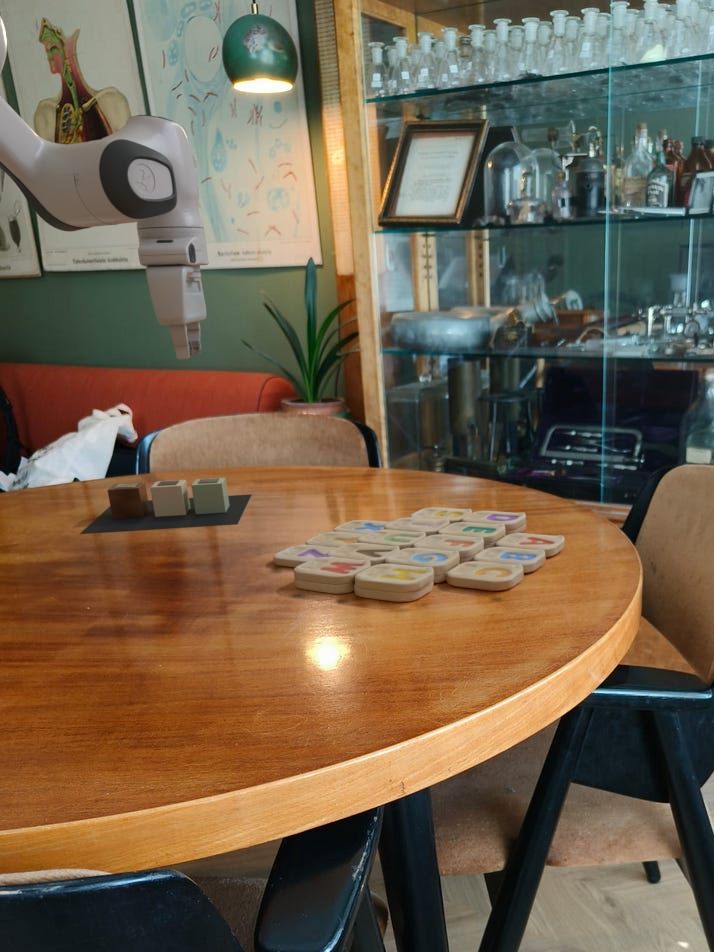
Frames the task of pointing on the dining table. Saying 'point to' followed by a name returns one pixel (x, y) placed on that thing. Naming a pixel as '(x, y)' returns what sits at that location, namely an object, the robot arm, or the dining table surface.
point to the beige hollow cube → (170, 498)
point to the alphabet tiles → (420, 554)
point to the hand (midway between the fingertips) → (189, 356)
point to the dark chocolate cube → (128, 500)
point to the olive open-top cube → (210, 495)
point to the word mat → (170, 518)
